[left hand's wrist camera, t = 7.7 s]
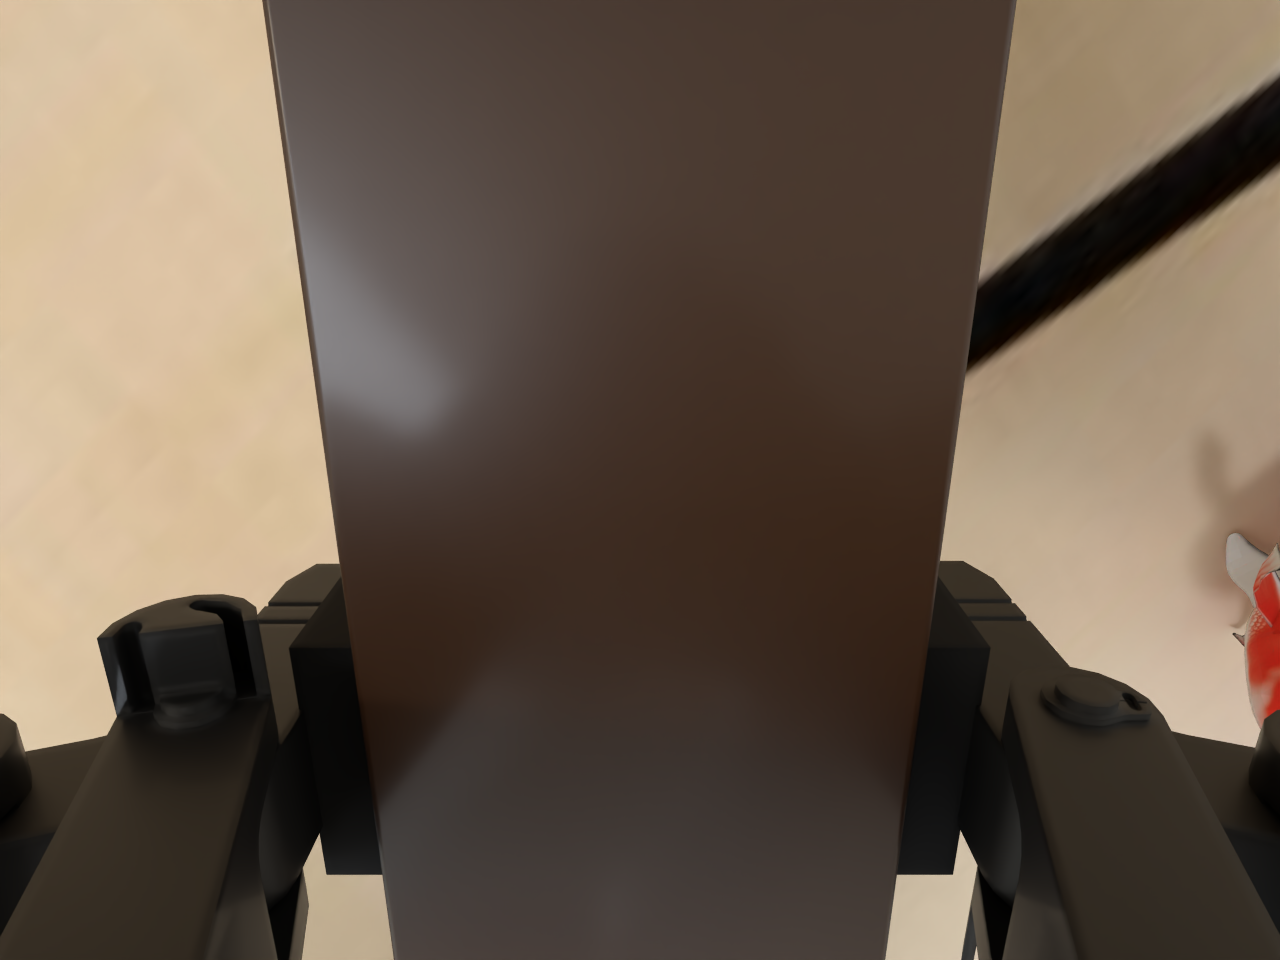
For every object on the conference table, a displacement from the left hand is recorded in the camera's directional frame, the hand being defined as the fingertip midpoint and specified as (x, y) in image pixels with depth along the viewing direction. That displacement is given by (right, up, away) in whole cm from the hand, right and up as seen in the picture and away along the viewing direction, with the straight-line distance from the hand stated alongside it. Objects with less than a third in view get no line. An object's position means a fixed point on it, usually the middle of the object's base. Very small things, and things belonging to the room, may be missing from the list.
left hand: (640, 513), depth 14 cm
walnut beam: (0, +8, -2) cm, 9 cm away
